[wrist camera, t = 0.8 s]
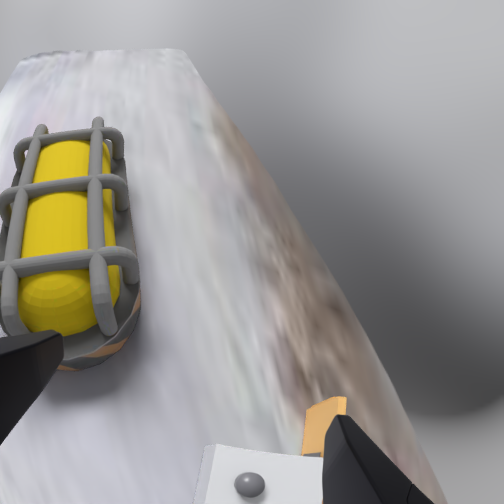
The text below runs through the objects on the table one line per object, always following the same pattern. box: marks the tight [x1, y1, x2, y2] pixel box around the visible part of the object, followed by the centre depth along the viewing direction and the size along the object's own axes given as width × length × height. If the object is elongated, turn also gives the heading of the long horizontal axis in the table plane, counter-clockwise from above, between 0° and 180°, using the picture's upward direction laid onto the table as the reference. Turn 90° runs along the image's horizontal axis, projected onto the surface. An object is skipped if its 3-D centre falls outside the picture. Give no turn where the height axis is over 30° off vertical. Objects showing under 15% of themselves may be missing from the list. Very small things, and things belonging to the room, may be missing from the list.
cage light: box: [0, 117, 140, 371], centre depth 27 cm, size 15×8×30 cm
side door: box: [301, 396, 346, 504], centre depth 19 cm, size 15×1×6 cm, turn 171°
